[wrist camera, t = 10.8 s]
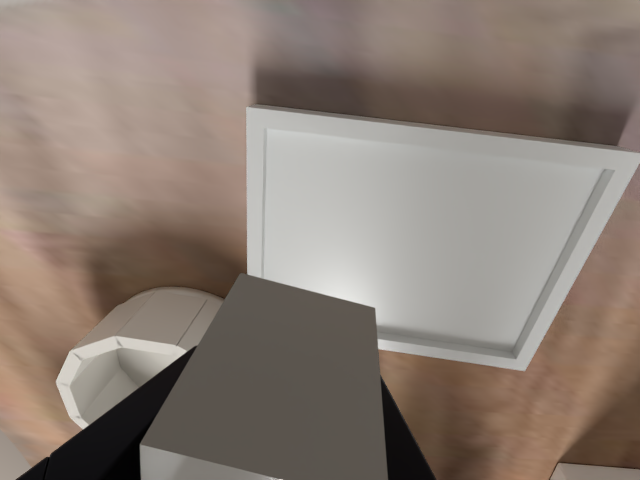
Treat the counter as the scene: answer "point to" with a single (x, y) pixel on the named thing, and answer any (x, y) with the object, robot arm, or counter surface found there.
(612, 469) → the milk
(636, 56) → the counter surface
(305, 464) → the grey block
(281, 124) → the tray
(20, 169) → the counter surface
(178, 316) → the bowl
